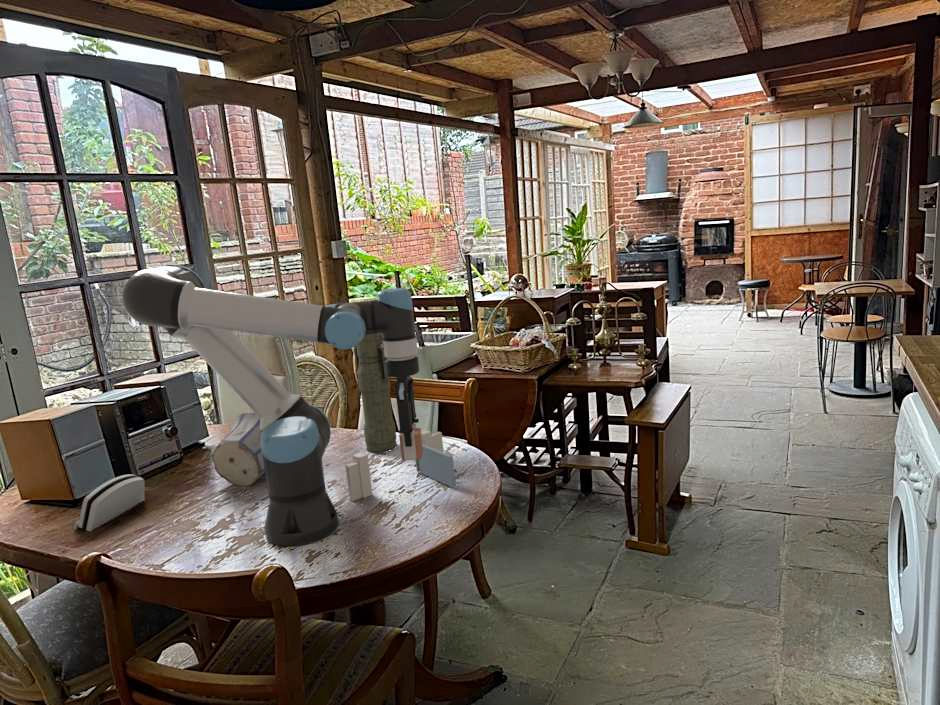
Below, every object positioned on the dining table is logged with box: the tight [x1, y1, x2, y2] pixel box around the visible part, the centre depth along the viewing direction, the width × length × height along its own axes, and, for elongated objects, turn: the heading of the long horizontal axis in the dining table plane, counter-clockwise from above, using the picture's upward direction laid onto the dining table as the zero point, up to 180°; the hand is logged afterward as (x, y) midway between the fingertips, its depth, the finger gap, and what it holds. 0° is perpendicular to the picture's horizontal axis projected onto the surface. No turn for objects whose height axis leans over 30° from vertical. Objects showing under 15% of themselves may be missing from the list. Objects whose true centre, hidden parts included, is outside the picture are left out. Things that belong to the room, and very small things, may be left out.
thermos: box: [353, 333, 398, 454], centre depth 186 cm, size 9×12×35 cm
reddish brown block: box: [398, 427, 423, 461], centre depth 154 cm, size 4×4×6 cm
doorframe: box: [345, 429, 445, 502], centre depth 163 cm, size 29×2×10 cm, turn 134°
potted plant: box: [211, 411, 265, 487], centre depth 180 cm, size 18×18×30 cm
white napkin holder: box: [74, 474, 146, 532], centre depth 157 cm, size 17×5×10 cm, turn 163°
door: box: [415, 444, 456, 488], centre depth 162 cm, size 16×1×8 cm, turn 37°
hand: (411, 454), depth 155 cm, fingers closed on reddish brown block, 4 cm apart
